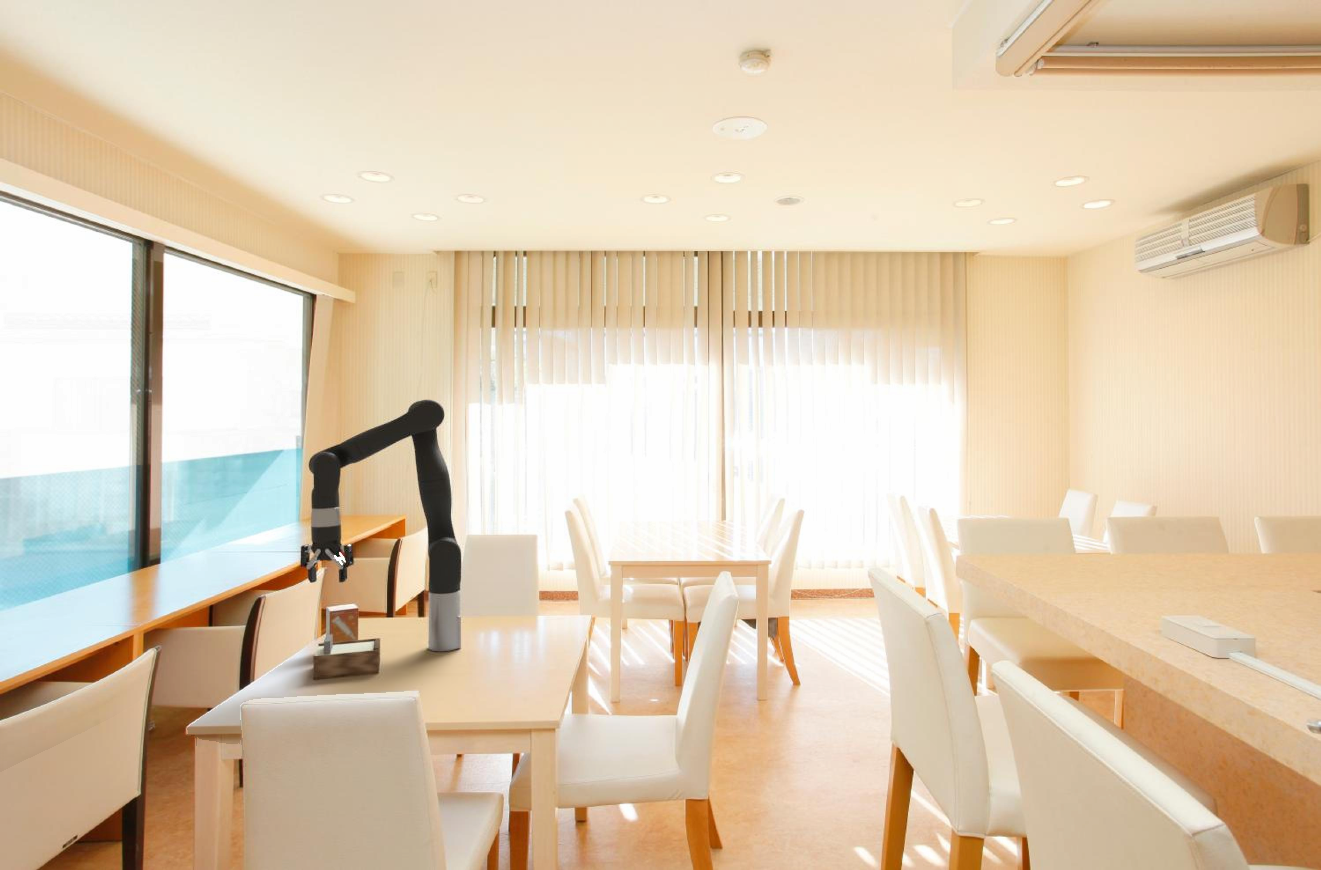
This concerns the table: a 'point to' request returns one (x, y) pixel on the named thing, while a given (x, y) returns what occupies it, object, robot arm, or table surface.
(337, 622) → the small box
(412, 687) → the table surface
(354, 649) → the cover plate
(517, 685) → the table surface
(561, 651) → the table surface
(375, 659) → the walnut box
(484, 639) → the table surface
